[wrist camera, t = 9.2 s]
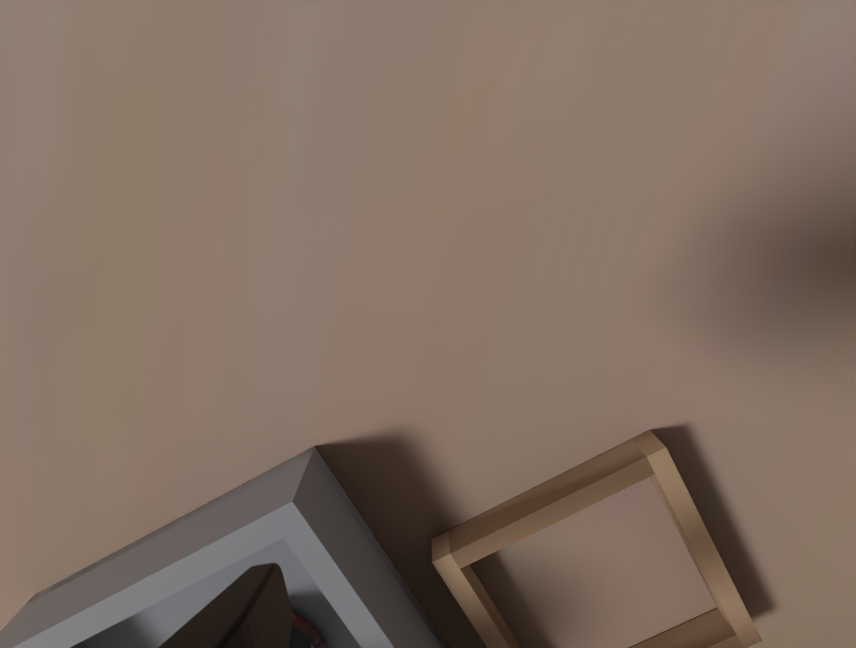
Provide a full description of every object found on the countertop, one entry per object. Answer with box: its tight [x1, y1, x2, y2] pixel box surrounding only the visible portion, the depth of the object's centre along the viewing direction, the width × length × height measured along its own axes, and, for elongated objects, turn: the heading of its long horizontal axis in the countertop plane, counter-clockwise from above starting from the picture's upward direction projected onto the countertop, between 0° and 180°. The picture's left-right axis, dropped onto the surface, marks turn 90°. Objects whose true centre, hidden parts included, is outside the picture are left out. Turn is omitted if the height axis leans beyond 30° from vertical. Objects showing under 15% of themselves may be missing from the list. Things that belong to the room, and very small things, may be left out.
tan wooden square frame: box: [431, 430, 762, 648], centre depth 23 cm, size 10×10×2 cm
